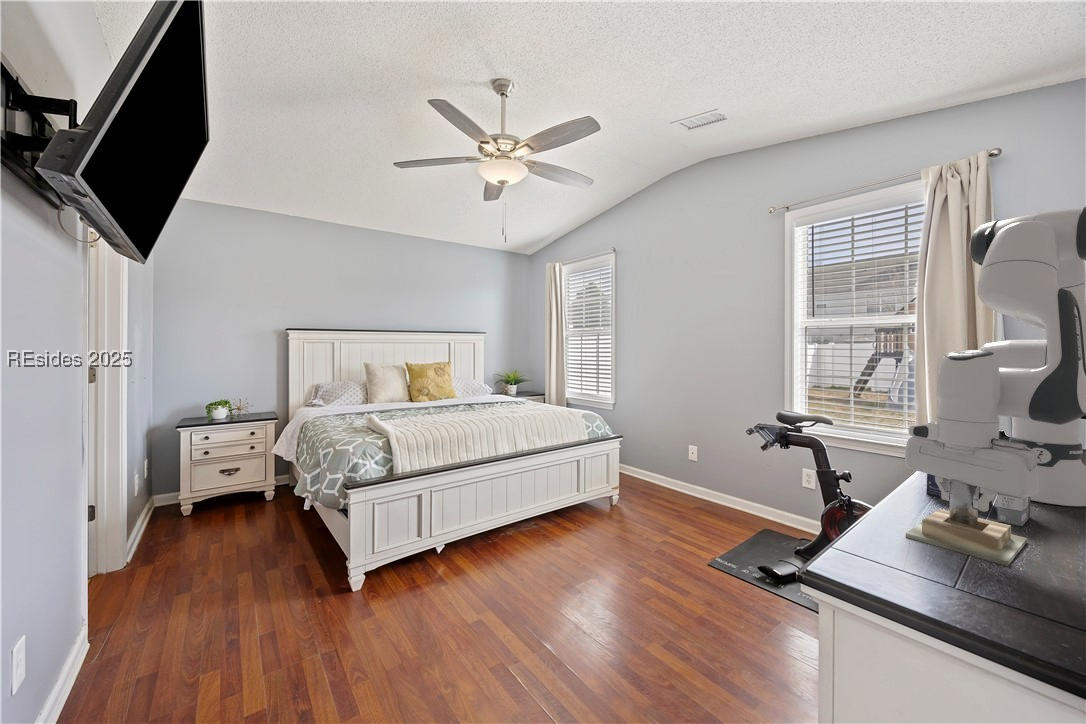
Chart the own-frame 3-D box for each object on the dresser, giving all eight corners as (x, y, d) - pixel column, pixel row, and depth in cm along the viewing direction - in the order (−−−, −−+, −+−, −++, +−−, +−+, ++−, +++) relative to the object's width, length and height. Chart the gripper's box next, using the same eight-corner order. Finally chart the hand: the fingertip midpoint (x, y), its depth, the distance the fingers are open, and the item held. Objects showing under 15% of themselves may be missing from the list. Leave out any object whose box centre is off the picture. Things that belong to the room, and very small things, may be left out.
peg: (959, 516, 88) (960, 476, 88) (983, 523, 84) (984, 482, 84) (943, 517, 87) (945, 477, 87) (967, 525, 83) (968, 483, 83)
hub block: (932, 518, 96) (932, 503, 96) (1026, 542, 84) (1027, 525, 84) (905, 536, 87) (906, 520, 87) (1007, 566, 75) (1008, 547, 75)
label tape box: (1022, 527, 91) (1024, 468, 91) (994, 520, 94) (996, 464, 94) (1031, 517, 96) (1033, 462, 96) (1004, 512, 99) (1006, 458, 99)
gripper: (1050, 445, 75) (1047, 524, 76) (923, 424, 95) (921, 487, 96) (1023, 446, 74) (1020, 527, 75) (900, 425, 94) (898, 489, 94)
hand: (963, 505), depth 85 cm, fingers closed on peg, 4 cm apart
